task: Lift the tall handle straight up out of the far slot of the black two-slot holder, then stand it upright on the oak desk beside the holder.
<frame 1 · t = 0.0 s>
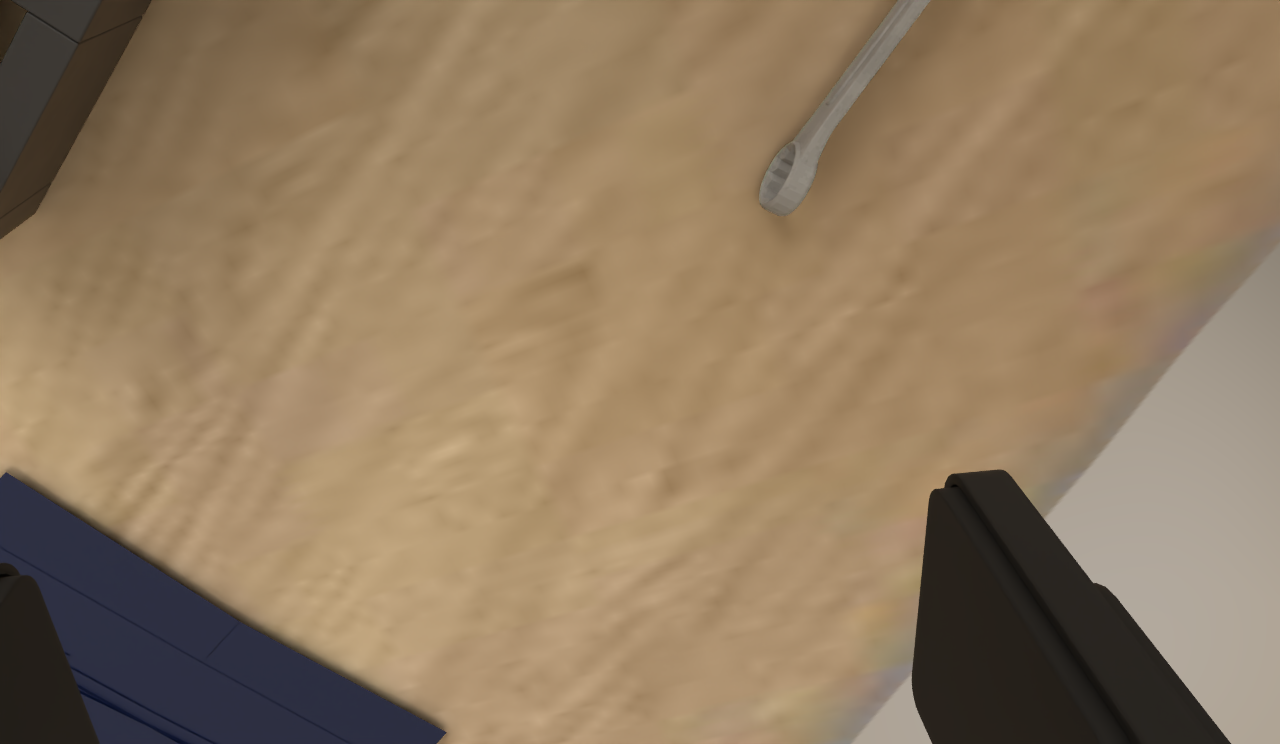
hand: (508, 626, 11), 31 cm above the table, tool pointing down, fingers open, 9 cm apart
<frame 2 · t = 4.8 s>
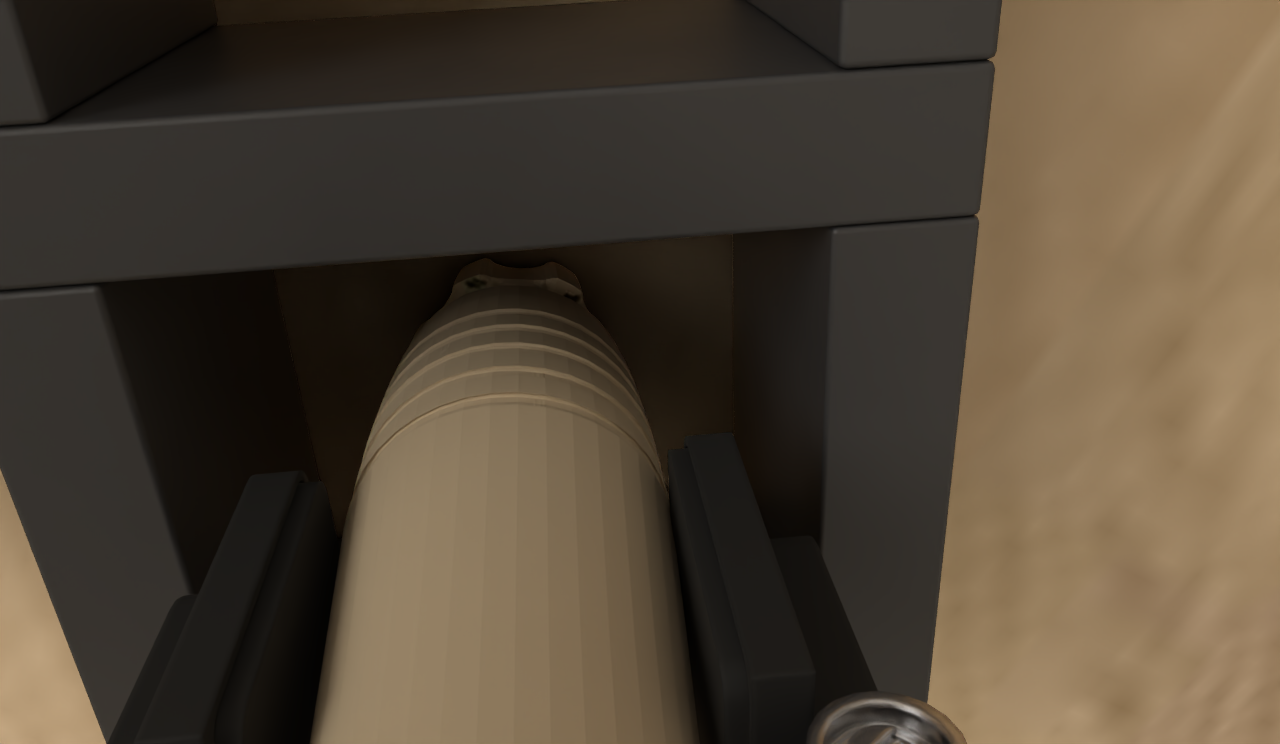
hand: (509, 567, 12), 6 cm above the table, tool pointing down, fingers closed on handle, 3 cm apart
holder: (485, 64, 15), on the table
handle: (515, 332, 18), resting in holder, touching gripper
when the fingers open (6 cm above the table, at t = 12.4 s): handle stays where it is, on the table.
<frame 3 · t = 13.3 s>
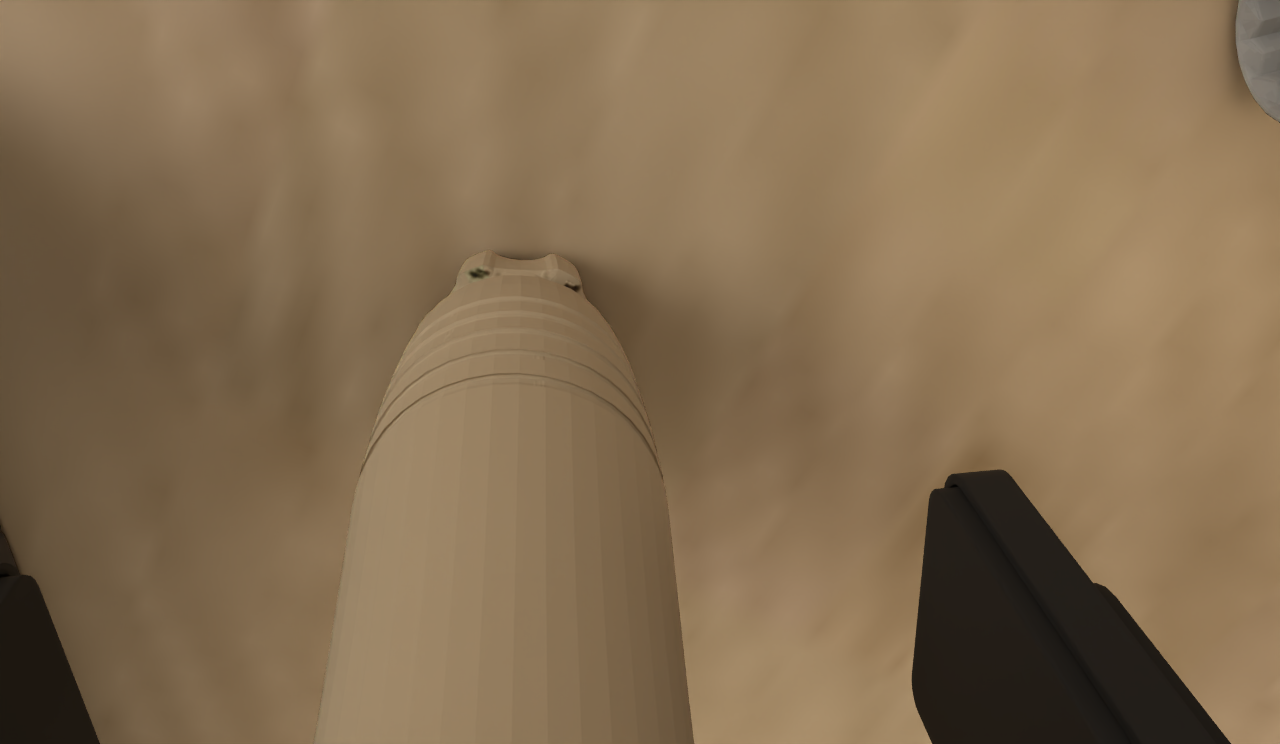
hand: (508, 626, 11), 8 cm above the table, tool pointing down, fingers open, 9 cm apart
handle: (517, 322, 18), on the table
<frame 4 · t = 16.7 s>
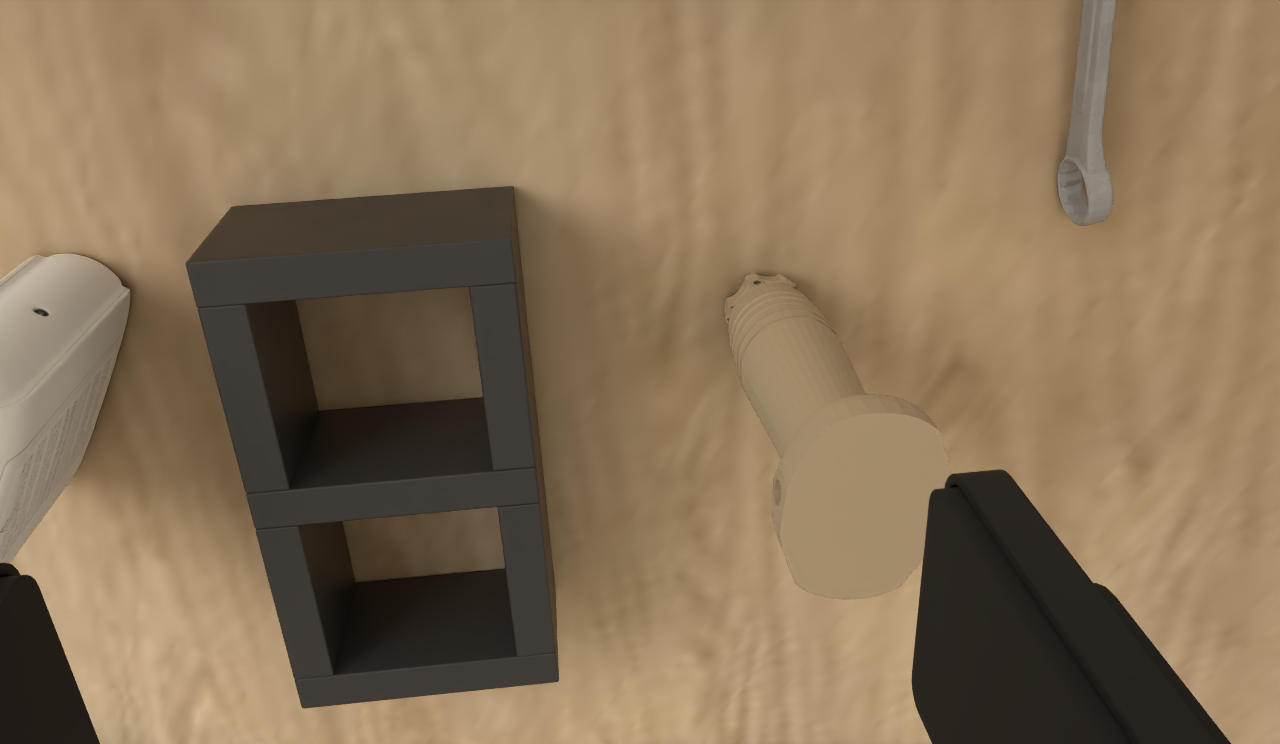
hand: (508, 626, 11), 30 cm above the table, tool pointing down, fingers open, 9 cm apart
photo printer: (61, 362, 41), on the table
holder: (411, 419, 44), on the table
handle: (759, 302, 43), on the table
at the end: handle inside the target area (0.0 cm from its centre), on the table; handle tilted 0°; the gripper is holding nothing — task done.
